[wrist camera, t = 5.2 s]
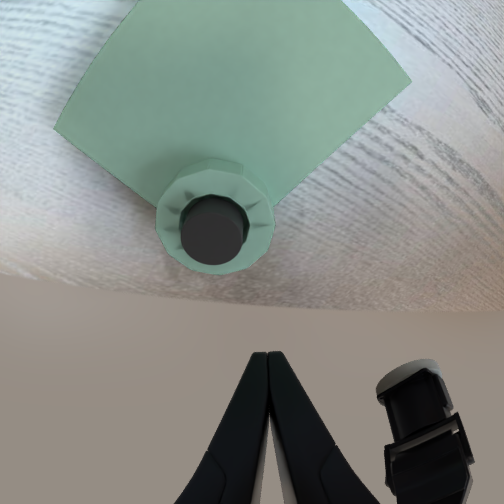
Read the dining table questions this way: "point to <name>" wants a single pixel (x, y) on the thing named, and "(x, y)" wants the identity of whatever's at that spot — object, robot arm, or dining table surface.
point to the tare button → (212, 231)
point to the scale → (227, 105)
